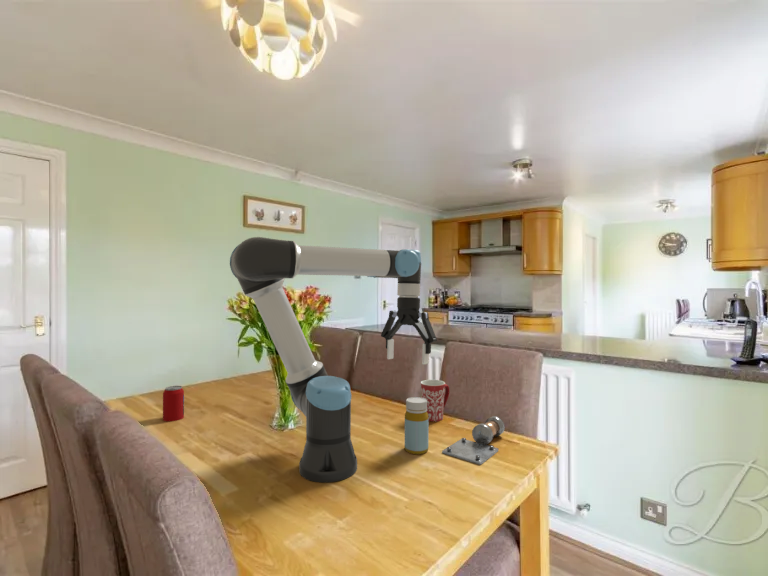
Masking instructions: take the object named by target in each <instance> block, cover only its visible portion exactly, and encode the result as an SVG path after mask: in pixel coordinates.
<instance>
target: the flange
mask: <svg viewBox="0 0 768 576" xmlns="http://www.w3.org/2000/svg"><path fill="white" fill-rule="evenodd" d="M505 428H506V427H505V423H504V421H503V420H502V419H501V418H500V417H499V416H496V415H493V416H490V417H489V418H486V420H485V421H484V423H479V424H477V425H475V426H474V427H473V428H472V432H471V435H472V438H473V440H474V441H473V440H469V439H466V437H462V438H461V439H459V440H457V441H455V442H454V443H452V444H451V445H449V446H447V447H446V448H445V449H442V451H441V453H442V454H444V455H447V456H450V457H453V458H457V459H460V460H463V461H467V462H469V463H473V464H476V465H478V466H481V465H483V464H484V463H485V462H487V461H488V460H489V459H490V458H492V457H493V456H494V455H496V454H497V453H498V452H499V448H497V447H495V446H494V445H492V444H490V445H488V444H489V443H491V442H492V441H493V439H494V436H496V438H497V437H499V436H501V435H502V434H504V431H505Z"/></svg>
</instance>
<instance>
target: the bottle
mask: <svg viewBox="0 0 768 576" xmlns="http://www.w3.org/2000/svg"><path fill="white" fill-rule="evenodd" d="M405 410H406V411H405V414H404V450H405V451H406V453H409V454H411V455H423V454H426V453H427V452H428V450H429V421H428V413H427V400H426V399H425V398H422V396H421V397H420V396H419V397H417V396H413V397H408V398H406V400H405Z"/></svg>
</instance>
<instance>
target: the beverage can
mask: <svg viewBox="0 0 768 576" xmlns="http://www.w3.org/2000/svg"><path fill="white" fill-rule="evenodd" d="M184 417H185V391H184V389H183V387H182V385H173V386H172V385H169V386H166V387H165V388H164V391H163V393H162V421H163V422H166V423H167V422H176V421H180V420H182V419H184Z"/></svg>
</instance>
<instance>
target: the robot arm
mask: <svg viewBox="0 0 768 576" xmlns="http://www.w3.org/2000/svg"><path fill="white" fill-rule="evenodd" d="M421 254H422V253H421V252H420V250H419V249H411V248H410V249H408V248H407V249H404V248H403V249H399V250H392V249H389V250H388V249H387V250H385V249H375V248H374V249H372V248H356V247H355V248H354V247H353V248H352V247H339V246H338V247H336V246H320V245H319V246H318V245H299V244H297V243H296V241H294V240H283V239H278V238H276V239H275V238H269V237H263V236H262V237H260V236H254V237H249V238H246V239H244V240H243V241H242V242H241V243H239V244H238V245H237V246H235V248H234V249H233V251H232V252H231V254H230V258H229V268H230V271H231V273H232V275H233V276H234V277H235V278H236V279H237V281H238V284H239V285H240V287H241V289H242V291H243V295H244V296H245V297H248V298H251V299H252V300H253V301H254V304H255V306H256V308H257V310H258V312H259V314H260V316H261V319H262V321H263V323H264V325H265V328H266V329H267V331H268V334H269V336H270V339H271V340H272V343H273V344H274V346H275V347H274V348H275V350H276V351H277V353H278V355H279V357H280V360H281V361H282V363H283V366H284V368H285V370H286V372H287V375H286V378H285V383H286V385H287V388H288V389H289V391H290V396H291V400H292V403H293V405H294V406H295V407H296V408H297V409H299V411H300V412H301V413H302V414H303V415H304V416H305V417H306V418H305V422H306V425H305V430H306V431H305V434H306V435H305V436H306V437H305V438H306V441H305V445H304V448H303V452H302V456H301V458H300V460H299V467H298V469H299V475H300V476H301V477H302V478H304V479H306V480H307V481H310V482H315V483H335V482H340V481H342V480H346V479H348V478H351V476H353V475H354V474H355V473H356V472H357V470H358V458H357V455H356V453H355V449H354V445H353V443H352V439H351V430H352V429H351V427H352V426H351V425H352V423H351V421H352V418H351V415H352V413H351V412H352V411H351V410H352V404H351V402H352V392H351V385H350V383H349V381H347V380H346V379H344V378H343V377H339V376H338V377H337V376H333V375H328V372H327V371H326V370H327V369H326V368H325V366H324V363H323V362H322V361H319V360H316V359H315V356H314V354H313V352H312V349H311V348H310V346H309V343H308V340H307V339H306V337H305V335H304V332H303V330H302V327H301V325H300V323H299V321H298V319H297V316H296V314H295V312H294V310H293V307H292V305H291V302H290V301H289V299H288V296H287V294H286V292H285V290H284V287H283V285H284V282H285V279H294V278H295V277H297V276H298V275H299V276H300V275H302V276H304V275H305V276H346V277H347V276H350V277H351V276H355V277H358V276H359V277H361V276H362V277H367V278H374V279H375V278H376V279H377V278H380V279H382V278H383V279H387V278H388V279H397V293H396V295H397V296H399V297H397V300H396V301H397V303H396V305H397V306H396V307H397V311H396V310H389V314H388V317H387V320H386V323H385V324H384V327H383V330H382V331H381V333H380V337H382V338H384V339H385V349H386V351H387V352H386V354H387V355H386V359H387V360H392V359H394V356H395V355H394V352H395V351H394V350H395V339H394V336H395V335H396V333H397V332H398V331H399V330H400V328H401V327H402V326H412V327H414V328H415V330H416V331H417V333H418V334H419V336H420V337H421V339H422V341H423V343H422V354H421V355H422V356H421V361H422V362H421V365H427V364H429V360H430V359H429V356H430V355H429V354H431V351H432V344H433V343H436V342H437V341H438V340H437V336H436V334H435V331H434V328H433V326H432V324H431V322H430V319H429V313H428V312H425V311H424V312H420V308H421V298H420V296H421V280H422V279H421V277H422V276H421V274H422V272H421V271H422V255H421ZM396 318H397V320H396ZM419 319H421V322H422V323H421V322H420V320H419ZM395 320H396V321H395ZM422 324H423V326H422Z"/></svg>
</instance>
